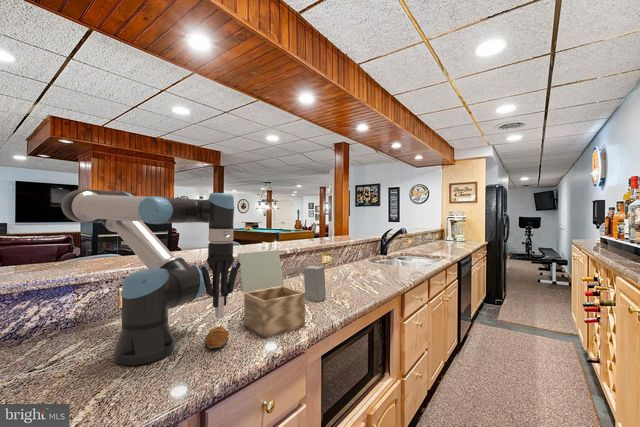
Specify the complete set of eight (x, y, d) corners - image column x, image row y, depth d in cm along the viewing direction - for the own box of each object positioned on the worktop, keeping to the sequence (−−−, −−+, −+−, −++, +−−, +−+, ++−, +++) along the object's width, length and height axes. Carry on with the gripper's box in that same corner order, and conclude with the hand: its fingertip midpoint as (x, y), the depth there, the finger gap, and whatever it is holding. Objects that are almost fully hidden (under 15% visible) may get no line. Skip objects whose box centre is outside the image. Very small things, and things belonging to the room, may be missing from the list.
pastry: (226, 349, 89) (227, 336, 89) (202, 351, 87) (203, 338, 87) (228, 336, 98) (229, 325, 98) (206, 338, 96) (207, 326, 96)
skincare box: (326, 299, 143) (326, 266, 143) (318, 302, 137) (318, 268, 137) (311, 296, 148) (311, 264, 148) (303, 299, 141) (303, 266, 142)
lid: (238, 253, 111) (236, 254, 112) (243, 292, 108) (241, 293, 109) (278, 250, 122) (276, 250, 123) (284, 285, 119) (282, 285, 120)
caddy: (263, 338, 97) (263, 302, 97) (244, 326, 108) (244, 293, 108) (304, 326, 108) (305, 293, 108) (283, 316, 119) (283, 286, 119)
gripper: (204, 244, 87) (202, 325, 87) (245, 242, 95) (244, 315, 95) (195, 242, 92) (193, 317, 92) (235, 240, 101) (233, 309, 101)
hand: (219, 316), depth 94 cm, fingers closed
